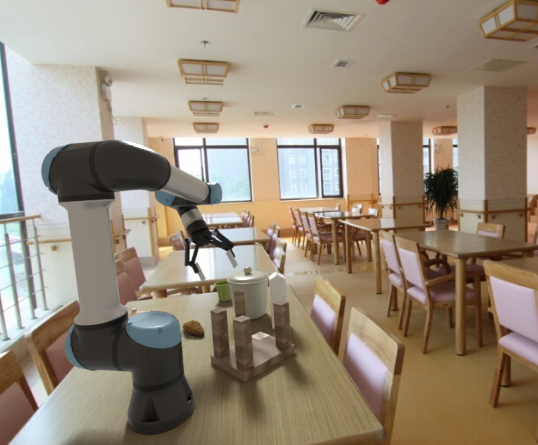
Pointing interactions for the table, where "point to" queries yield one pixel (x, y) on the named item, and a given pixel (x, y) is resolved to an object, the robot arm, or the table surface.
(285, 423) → the table surface
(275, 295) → the milk
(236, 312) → the hinged leg
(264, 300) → the canister
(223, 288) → the plant pot
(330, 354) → the table surface
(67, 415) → the table surface
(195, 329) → the croissant
